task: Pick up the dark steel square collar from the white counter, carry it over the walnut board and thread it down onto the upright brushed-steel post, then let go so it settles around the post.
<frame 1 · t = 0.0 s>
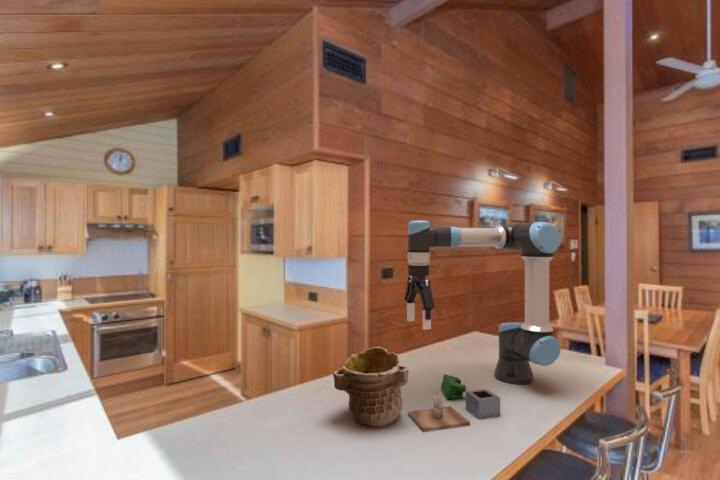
hand: (418, 324, 138), 28 cm above the counter, fingers open, 13 cm apart
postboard: (438, 419, 126), on the counter
clamp: (453, 395, 147), on the counter
collar: (482, 412, 132), on the counter
ceramic vessel: (369, 418, 127), on the counter
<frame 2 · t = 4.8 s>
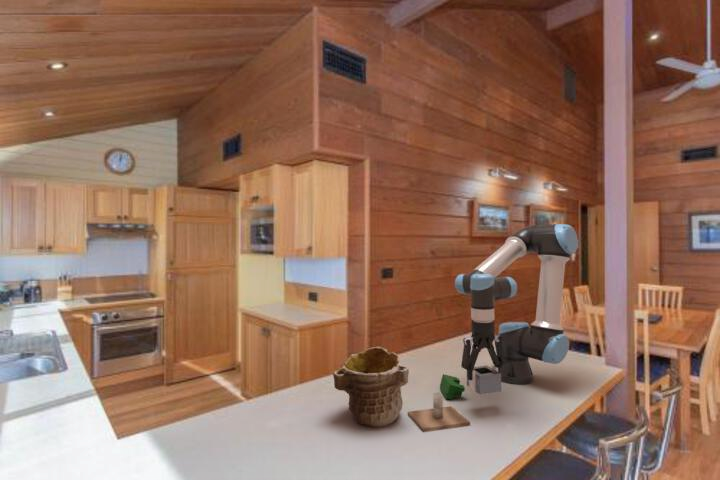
hand: (483, 387, 132), 8 cm above the counter, fingers closed on collar, 8 cm apart
collar: (483, 388, 132), point 8 cm above the counter, touching gripper
everything else where it was.
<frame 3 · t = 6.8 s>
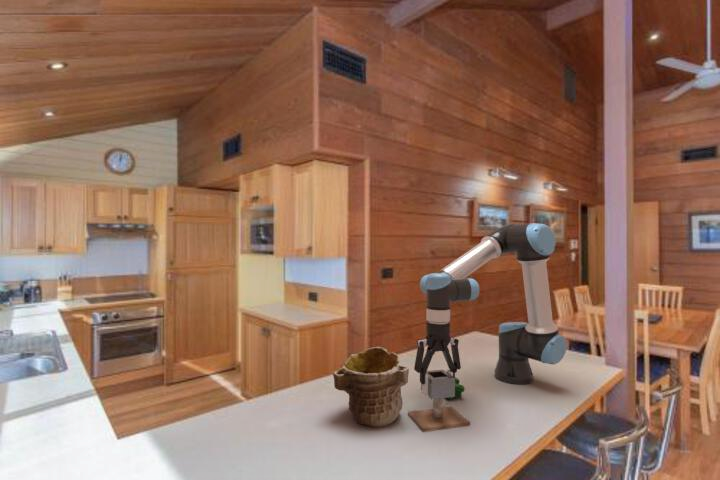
hand: (437, 392, 126), 9 cm above the counter, fingers closed on collar, 8 cm apart
collar: (437, 393, 126), point 9 cm above the counter, touching gripper
everything else where it was.
when the fingers open (3 cm above the counter, at t = 8.8 s): collar drops 1 cm, resting on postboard.
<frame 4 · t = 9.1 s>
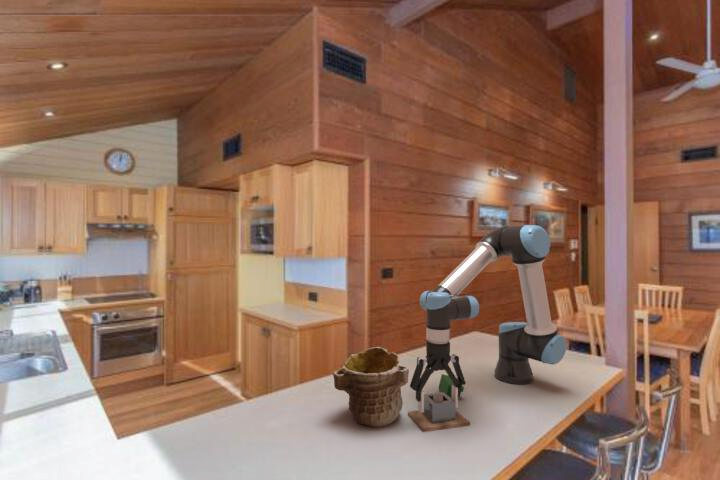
hand: (438, 408, 126), 4 cm above the counter, fingers open, 11 cm apart
collar: (438, 416, 126), point 1 cm above the counter, touching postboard
everything else where it was.
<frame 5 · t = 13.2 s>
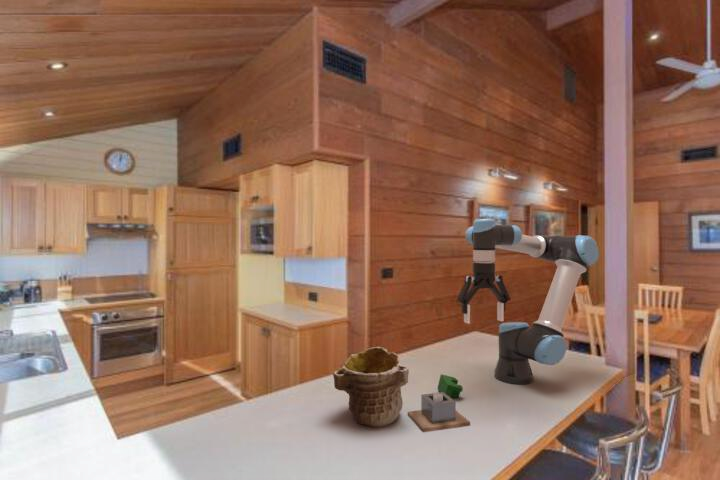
hand: (483, 321, 140), 29 cm above the counter, fingers open, 13 cm apart
at the end: collar 0.0 cm off-centre on the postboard, point 1.0 cm above the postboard's base; the gripper is holding nothing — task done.
